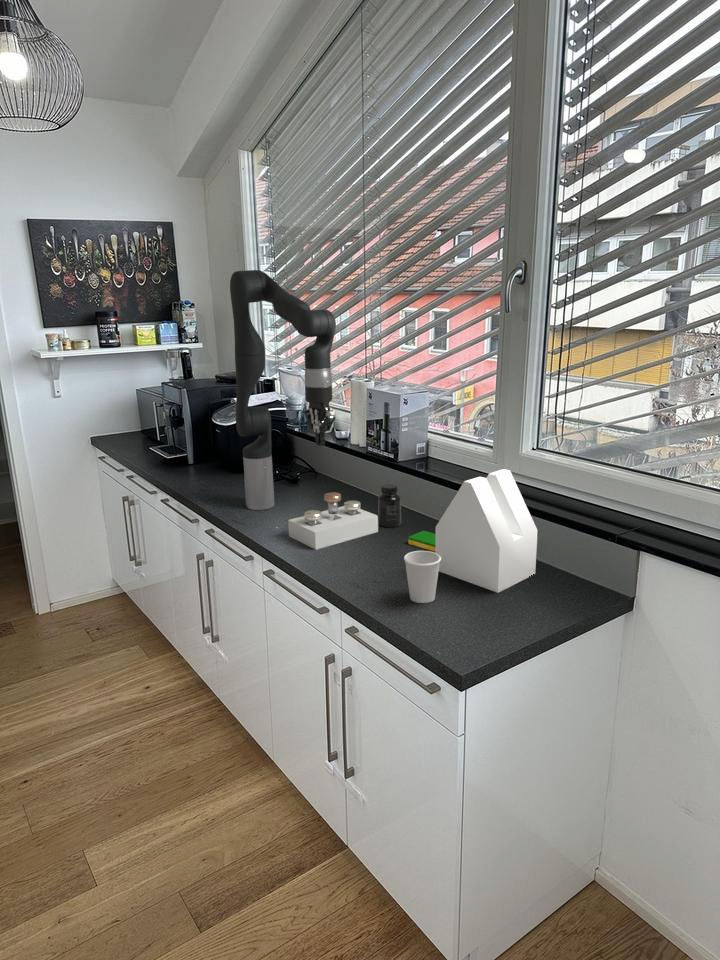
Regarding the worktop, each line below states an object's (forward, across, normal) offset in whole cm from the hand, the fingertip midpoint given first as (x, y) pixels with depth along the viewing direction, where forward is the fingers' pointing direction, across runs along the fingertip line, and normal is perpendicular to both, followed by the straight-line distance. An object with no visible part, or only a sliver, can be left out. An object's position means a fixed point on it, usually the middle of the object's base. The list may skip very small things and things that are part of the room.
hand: (320, 445), depth 191 cm
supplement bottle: (+27, +7, +20) cm, 34 cm away
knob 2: (+24, +3, +9) cm, 25 cm away
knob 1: (+24, +3, -5) cm, 25 cm away
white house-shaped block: (+26, +50, +15) cm, 58 cm away
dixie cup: (+26, +52, -7) cm, 58 cm away
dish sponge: (+27, +29, +18) cm, 43 cm away
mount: (+26, +3, +2) cm, 27 cm away
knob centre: (+20, +3, +2) cm, 20 cm away
